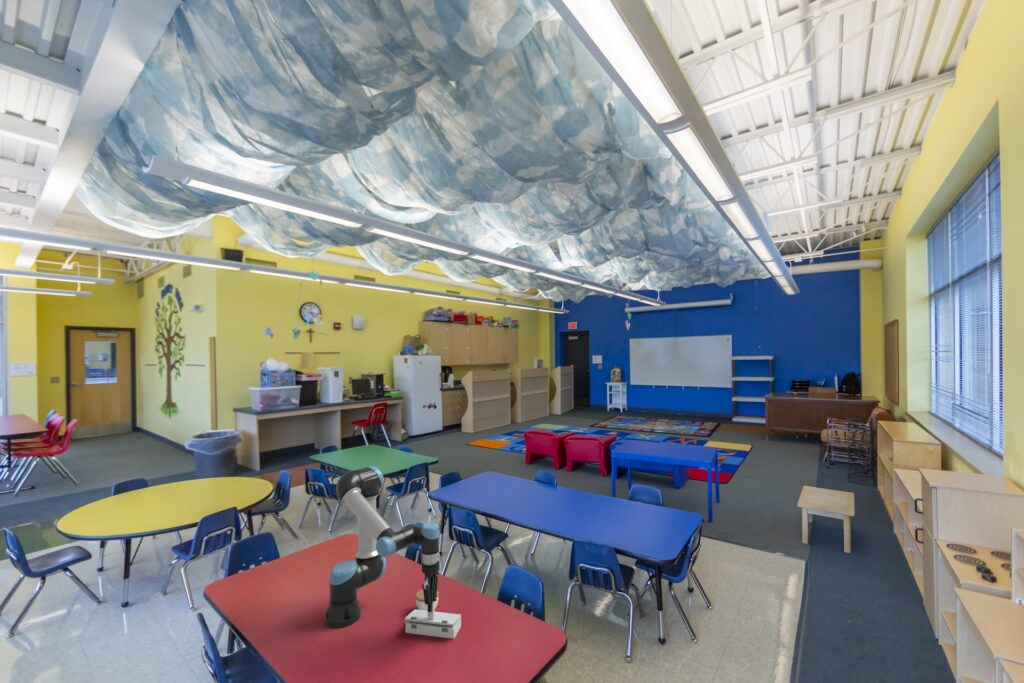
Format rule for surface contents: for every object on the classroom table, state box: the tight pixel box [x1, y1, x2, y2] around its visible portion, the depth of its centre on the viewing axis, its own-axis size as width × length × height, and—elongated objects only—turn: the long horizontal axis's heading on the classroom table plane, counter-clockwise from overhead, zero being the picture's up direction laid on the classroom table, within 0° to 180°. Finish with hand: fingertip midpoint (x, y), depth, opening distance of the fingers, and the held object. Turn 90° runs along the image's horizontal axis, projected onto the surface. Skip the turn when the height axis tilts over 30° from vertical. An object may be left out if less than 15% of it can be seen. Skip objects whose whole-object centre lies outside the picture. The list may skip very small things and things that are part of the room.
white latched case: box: [405, 616, 462, 640], centre depth 188 cm, size 22×10×4 cm, turn 78°
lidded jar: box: [415, 588, 440, 611], centre depth 203 cm, size 11×11×9 cm
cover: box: [404, 609, 462, 627], centre depth 188 cm, size 22×10×1 cm, turn 78°
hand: (431, 617), depth 186 cm, fingers closed
